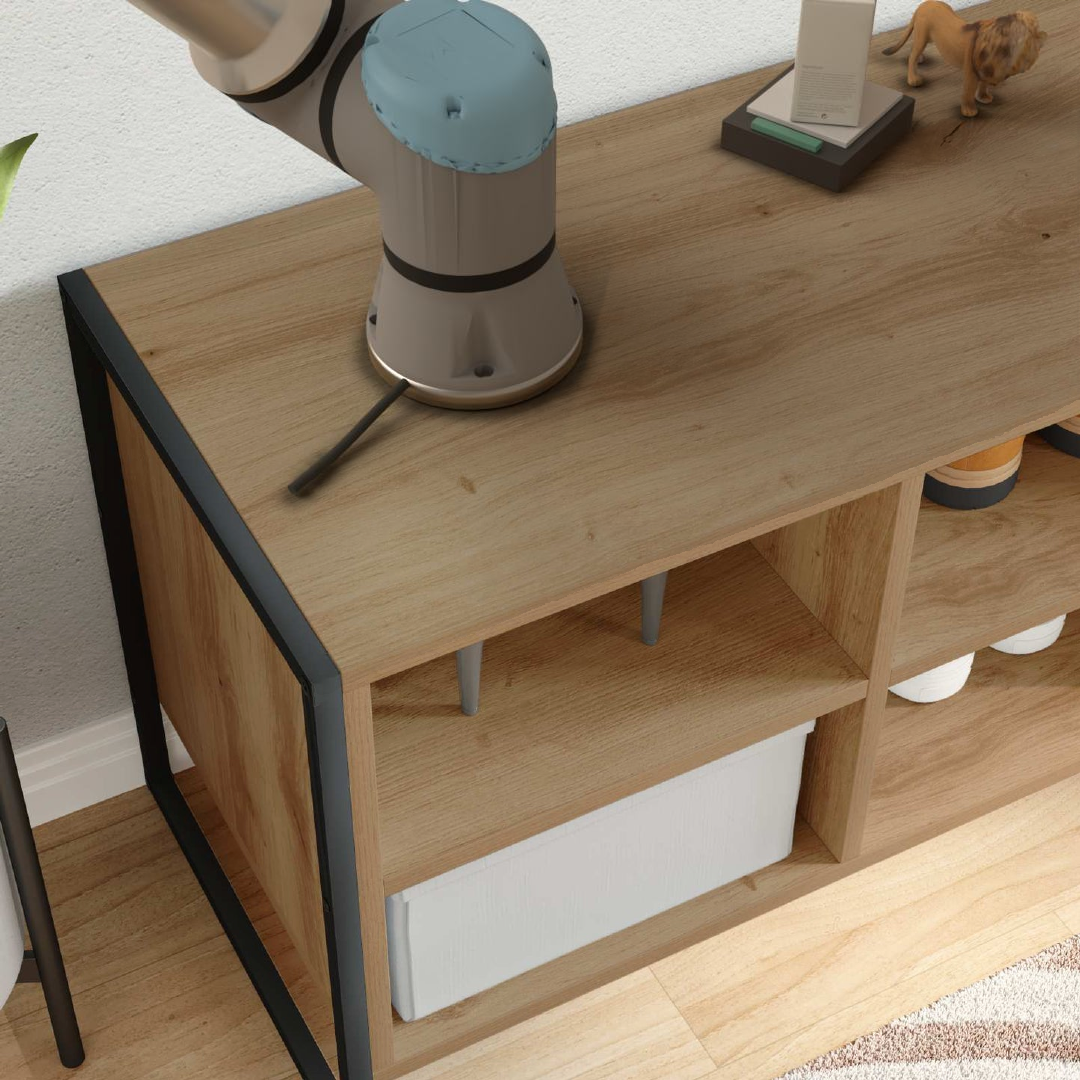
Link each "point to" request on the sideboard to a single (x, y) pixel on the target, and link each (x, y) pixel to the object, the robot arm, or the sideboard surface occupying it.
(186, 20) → the robot arm
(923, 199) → the sideboard surface
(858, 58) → the small box
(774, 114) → the scale
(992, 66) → the lion figurine
